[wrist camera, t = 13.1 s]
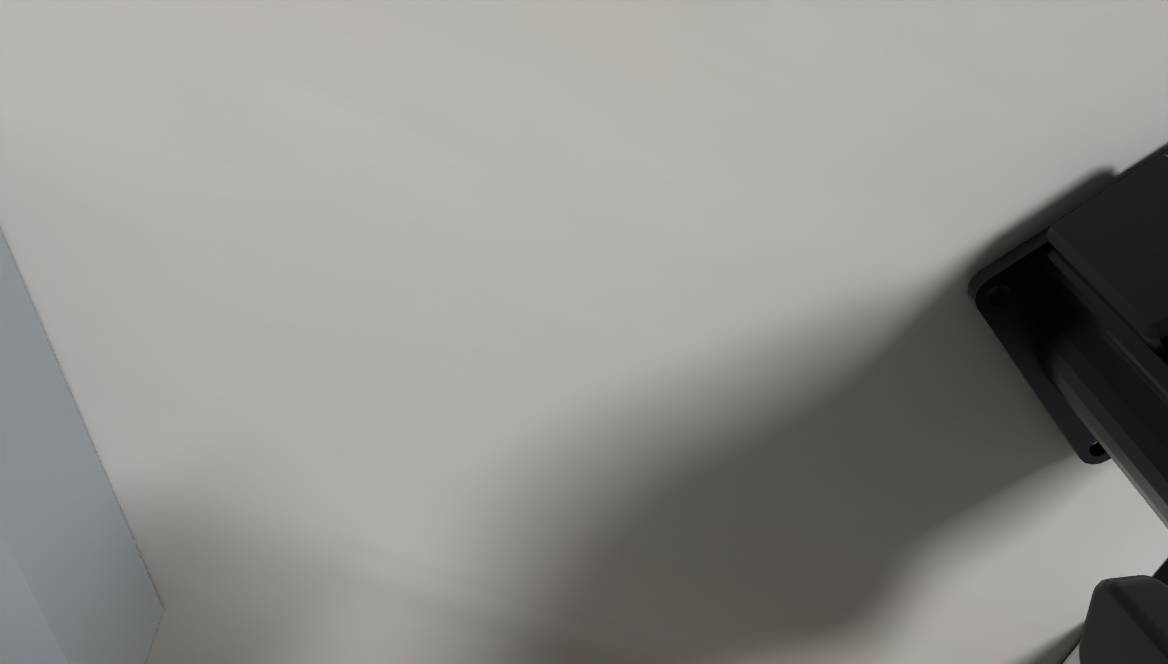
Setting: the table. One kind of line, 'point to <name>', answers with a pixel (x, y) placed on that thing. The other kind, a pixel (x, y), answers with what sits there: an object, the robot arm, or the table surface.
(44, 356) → the socket
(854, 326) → the table surface
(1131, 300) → the robot arm
